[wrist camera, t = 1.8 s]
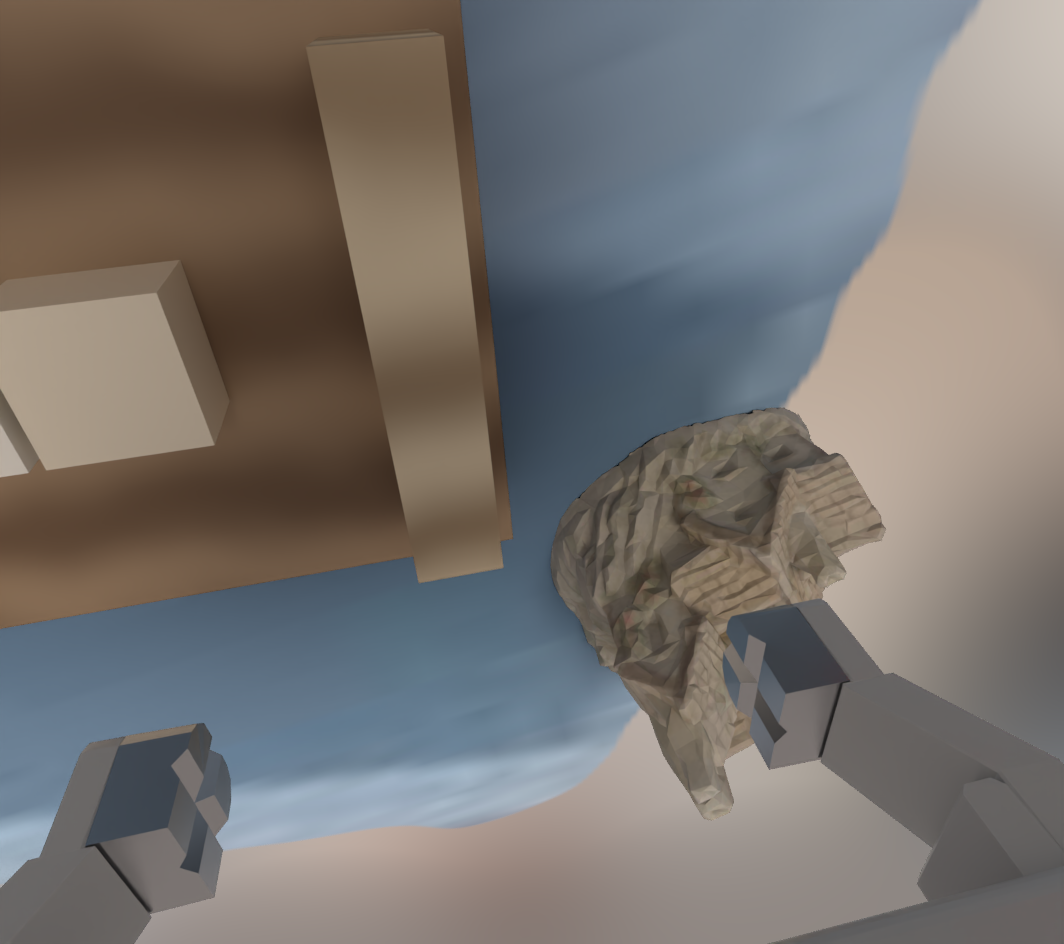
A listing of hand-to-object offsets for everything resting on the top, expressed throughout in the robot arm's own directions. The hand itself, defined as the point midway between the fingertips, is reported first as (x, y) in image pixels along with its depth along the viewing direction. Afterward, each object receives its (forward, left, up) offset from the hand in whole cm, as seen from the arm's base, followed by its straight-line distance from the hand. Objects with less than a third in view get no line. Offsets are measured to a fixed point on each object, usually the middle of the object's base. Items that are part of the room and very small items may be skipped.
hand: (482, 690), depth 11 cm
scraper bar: (0, 0, -16) cm, 16 cm away
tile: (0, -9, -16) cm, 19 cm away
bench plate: (0, -8, -20) cm, 22 cm away
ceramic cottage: (+17, +13, -21) cm, 30 cm away
